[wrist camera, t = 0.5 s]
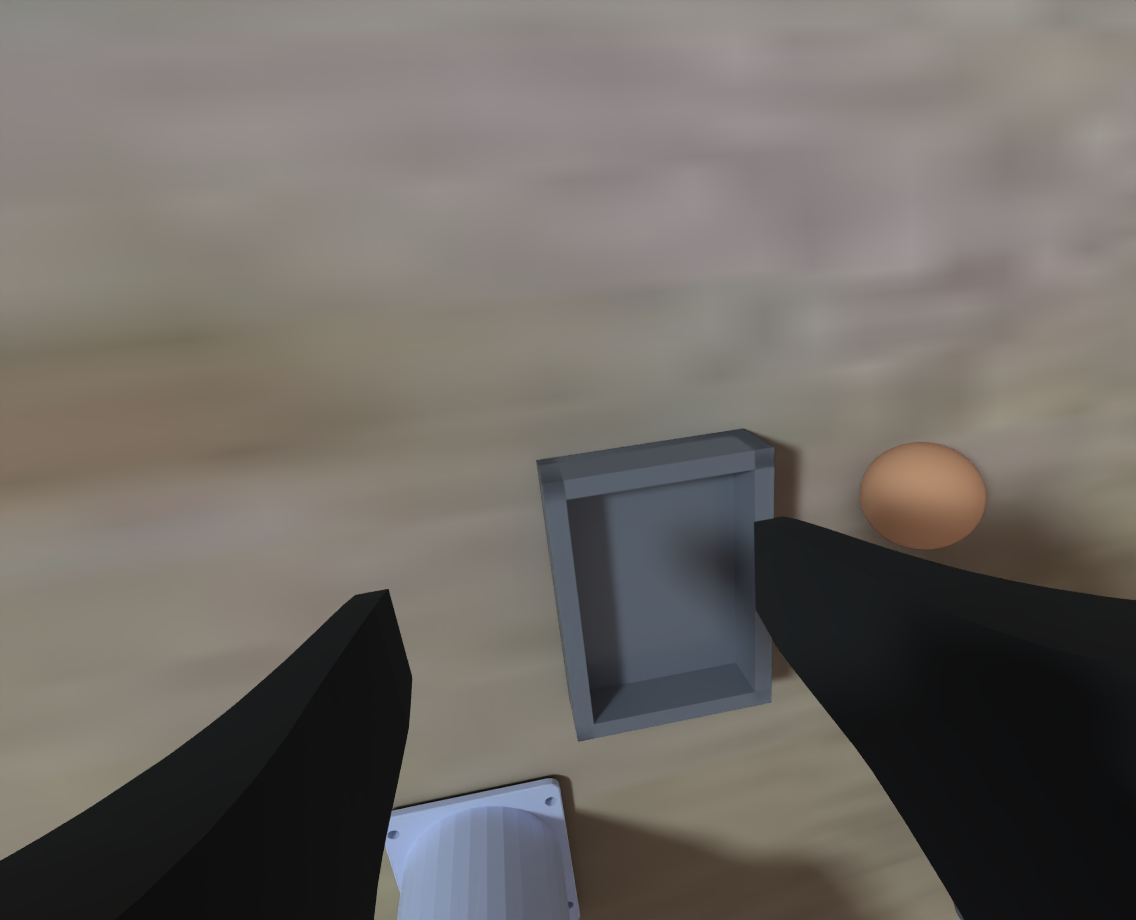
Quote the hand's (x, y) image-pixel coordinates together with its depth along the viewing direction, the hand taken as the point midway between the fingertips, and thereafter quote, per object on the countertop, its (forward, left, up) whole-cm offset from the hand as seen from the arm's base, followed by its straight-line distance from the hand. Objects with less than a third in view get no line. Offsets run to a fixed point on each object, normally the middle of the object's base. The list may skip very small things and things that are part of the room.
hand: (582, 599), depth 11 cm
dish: (-6, -4, -10) cm, 12 cm away
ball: (-4, -14, -10) cm, 18 cm away
